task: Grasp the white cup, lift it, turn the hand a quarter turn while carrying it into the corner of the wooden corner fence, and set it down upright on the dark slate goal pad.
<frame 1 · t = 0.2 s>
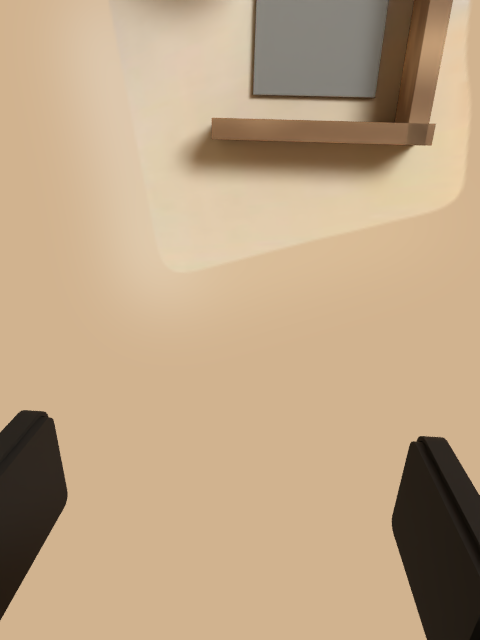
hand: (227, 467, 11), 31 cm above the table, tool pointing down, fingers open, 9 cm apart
wooden corner fence: (320, 8, 32), on the table
goal pad: (319, 24, 32), on the table
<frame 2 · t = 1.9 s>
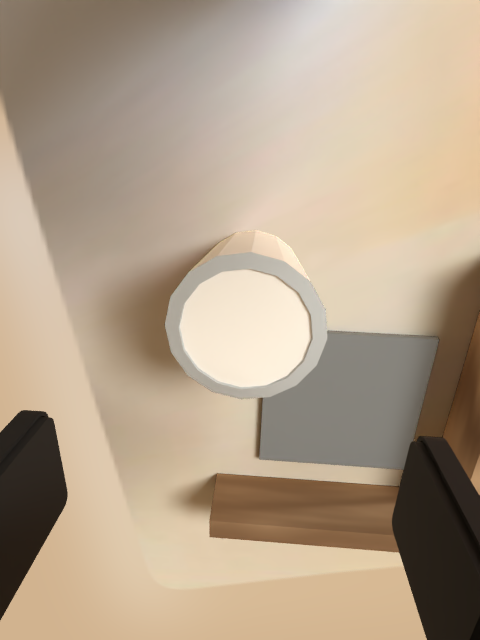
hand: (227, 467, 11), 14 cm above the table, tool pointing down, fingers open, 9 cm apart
wooden corner fence: (342, 388, 26), on the table
white cup: (252, 278, 23), on the table
goal pad: (340, 401, 26), on the table
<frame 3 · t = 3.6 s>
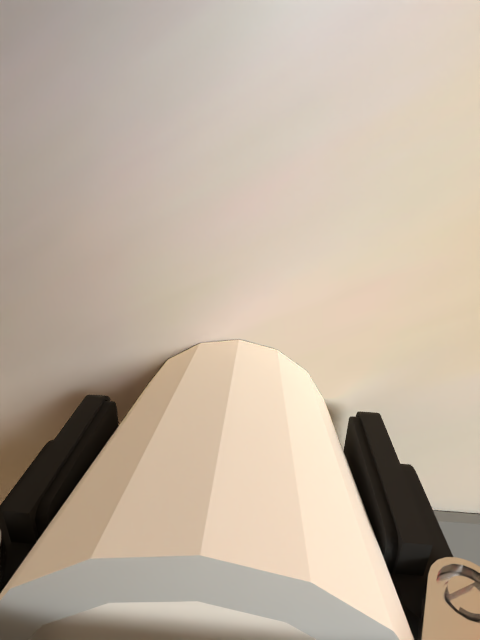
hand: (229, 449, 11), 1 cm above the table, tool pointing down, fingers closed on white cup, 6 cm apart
white cup: (233, 418, 13), on the table, touching gripper
goal pad: (388, 606, 15), on the table
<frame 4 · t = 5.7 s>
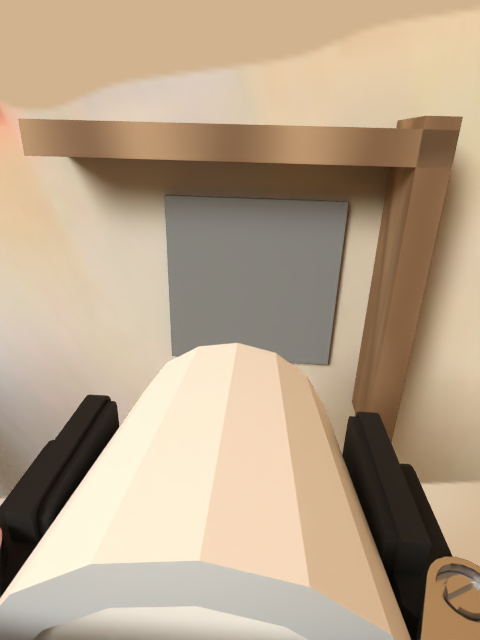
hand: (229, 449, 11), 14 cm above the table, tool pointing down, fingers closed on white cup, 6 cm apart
wooden corner fence: (235, 283, 24), on the table
white cup: (232, 421, 13), point 13 cm above the table, touching gripper
goal pad: (252, 284, 24), on the table
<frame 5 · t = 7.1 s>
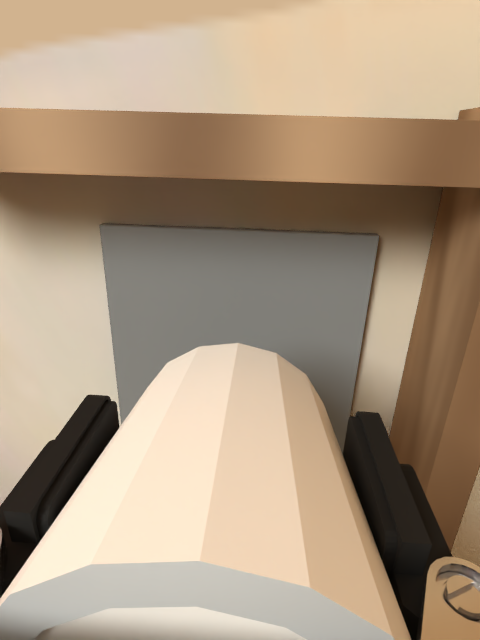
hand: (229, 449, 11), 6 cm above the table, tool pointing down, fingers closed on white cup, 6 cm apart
wooden corner fence: (211, 348, 17), on the table
white cup: (233, 421, 13), point 5 cm above the table, touching gripper
goal pad: (235, 349, 17), on the table
when the fingers open (3 cm above the table, at t = 8.2 s): white cup drops 1 cm, resting on goal pad.
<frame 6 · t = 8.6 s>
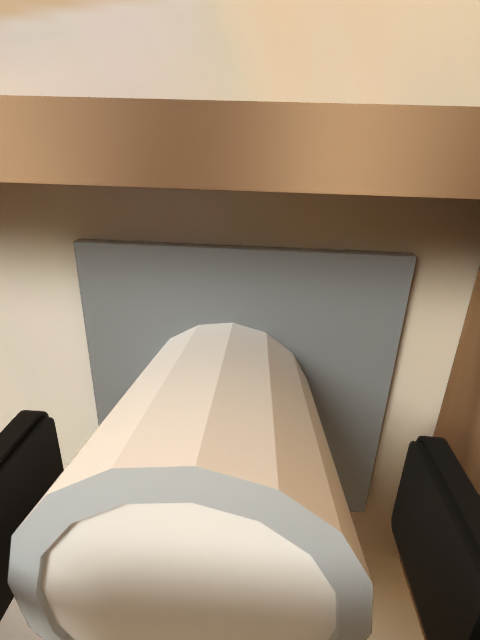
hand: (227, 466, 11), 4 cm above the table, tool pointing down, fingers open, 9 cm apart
wooden corner fence: (209, 385, 14), on the table
white cup: (226, 394, 14), resting on goal pad
goal pad: (237, 387, 14), on the table
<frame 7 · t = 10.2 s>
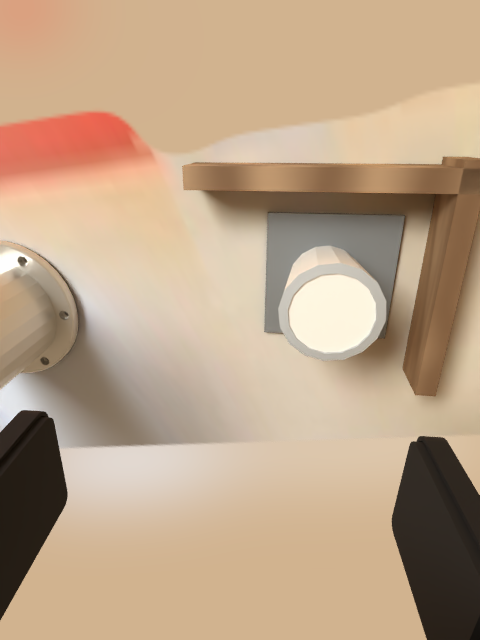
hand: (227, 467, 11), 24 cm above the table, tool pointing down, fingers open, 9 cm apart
wooden corner fence: (316, 276, 33), on the table
white cup: (324, 279, 32), resting on goal pad
goal pad: (328, 277, 33), on the table
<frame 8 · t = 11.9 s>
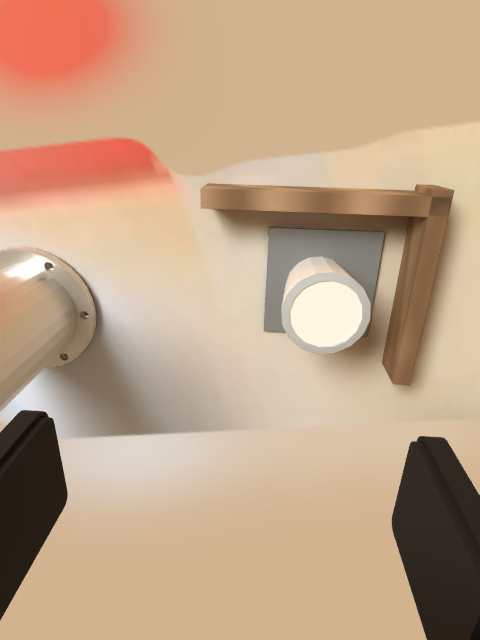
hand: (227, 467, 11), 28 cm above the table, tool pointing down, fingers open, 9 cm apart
wooden corner fence: (309, 282, 38), on the table
white cup: (316, 285, 38), resting on goal pad
goal pad: (320, 283, 38), on the table
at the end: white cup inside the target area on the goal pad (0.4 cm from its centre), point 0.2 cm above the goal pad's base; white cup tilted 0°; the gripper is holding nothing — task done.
